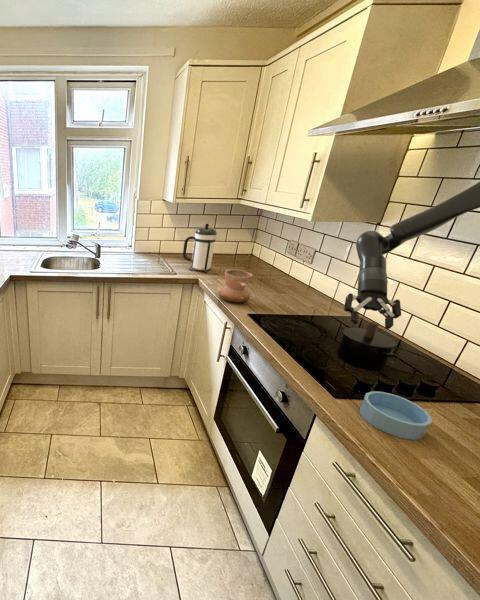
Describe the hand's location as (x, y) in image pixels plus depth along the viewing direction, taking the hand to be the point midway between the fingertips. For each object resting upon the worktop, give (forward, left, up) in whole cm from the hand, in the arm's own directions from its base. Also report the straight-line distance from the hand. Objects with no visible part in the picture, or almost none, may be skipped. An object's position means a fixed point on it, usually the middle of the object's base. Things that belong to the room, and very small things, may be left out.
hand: (371, 325), depth 105 cm
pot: (+1, +1, -13) cm, 13 cm away
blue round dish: (+16, +30, -13) cm, 36 cm away
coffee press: (+22, -105, -13) cm, 108 cm away
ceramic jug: (+21, -54, -13) cm, 59 cm away
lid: (+1, +1, -4) cm, 4 cm away
